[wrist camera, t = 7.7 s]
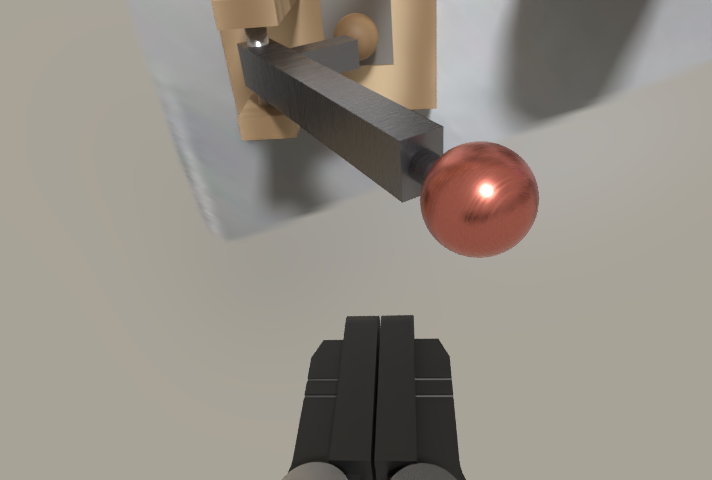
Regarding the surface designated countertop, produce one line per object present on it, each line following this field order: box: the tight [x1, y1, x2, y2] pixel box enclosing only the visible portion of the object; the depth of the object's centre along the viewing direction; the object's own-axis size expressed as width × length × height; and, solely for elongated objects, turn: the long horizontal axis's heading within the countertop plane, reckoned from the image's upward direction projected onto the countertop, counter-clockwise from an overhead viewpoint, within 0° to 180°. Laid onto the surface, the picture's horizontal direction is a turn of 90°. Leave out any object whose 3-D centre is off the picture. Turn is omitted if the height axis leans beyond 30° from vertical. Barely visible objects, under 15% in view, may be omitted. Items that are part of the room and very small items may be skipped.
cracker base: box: [211, 0, 437, 141], centre depth 33 cm, size 14×11×10 cm
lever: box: [237, 27, 539, 258], centre depth 24 cm, size 7×4×21 cm
